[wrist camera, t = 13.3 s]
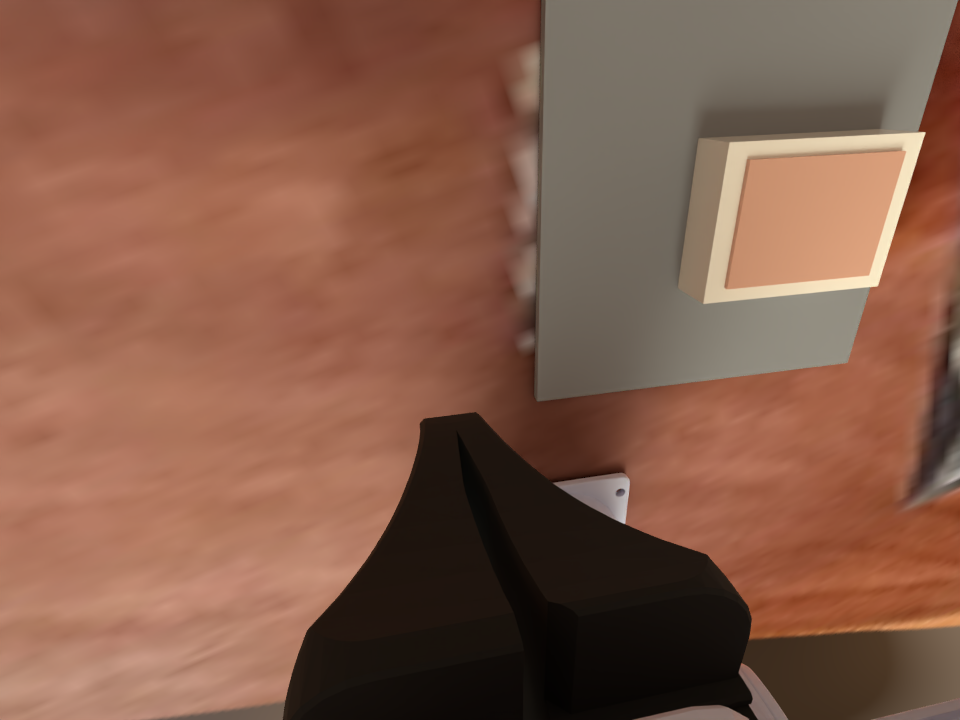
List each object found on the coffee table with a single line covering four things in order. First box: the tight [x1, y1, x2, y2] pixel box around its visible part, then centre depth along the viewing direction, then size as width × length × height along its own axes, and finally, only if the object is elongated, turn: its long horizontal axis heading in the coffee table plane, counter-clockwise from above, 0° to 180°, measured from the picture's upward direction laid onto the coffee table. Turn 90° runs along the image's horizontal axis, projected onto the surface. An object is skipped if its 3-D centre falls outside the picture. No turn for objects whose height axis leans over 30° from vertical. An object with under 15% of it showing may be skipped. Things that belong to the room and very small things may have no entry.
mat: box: [534, 0, 958, 402], centre depth 23 cm, size 16×16×1 cm
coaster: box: [678, 129, 925, 304], centre depth 22 cm, size 6×2×8 cm
